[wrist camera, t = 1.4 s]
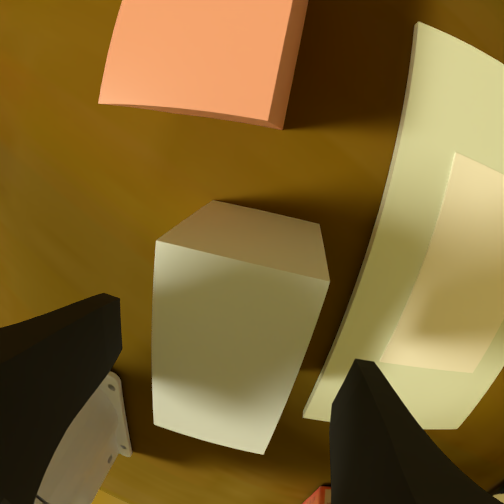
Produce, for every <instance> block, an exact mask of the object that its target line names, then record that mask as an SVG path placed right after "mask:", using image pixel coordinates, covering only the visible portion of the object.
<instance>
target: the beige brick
mask: <svg viewBox="0 0 504 504" xmlns="http://www.w3.org/2000/svg"><path fill="white" fill-rule="evenodd" d="M329 284H330V278H329V272H328V266H327V261H326V255H325V250H324V244H323V239H322V234H321V229H320V224H318V223H314V222H309V221H305V220H301V219H297V218H293V217H288V216H284V215H280V214H275V213H271V212H266V211H262V210H257V209H253V208H248V207H244V206H239V205H234V204H230V203H225V202H220V201H216V200H212V201H211V202H209V203H208V204H206V205H205V206H204V207H202V208H201V209H199V210H198V211H196V212H195V213H193V214H192V215H191V216H189V217H188V218H186V219H185V220H184V221H182V222H181V223H179V224H178V225H177V226H175V227H174V228H172V229H171V230H170V231H168V232H167V233H165V234H164V235H163V236H161V237H160V238H159V239H157V240H156V250H155V264H154V282H153V306H152V395H153V418H154V425H157V426H160V427H163V428H166V429H168V430H171V431H174V432H177V433H181V434H184V435H187V436H190V437H194V438H197V439H200V440H204V441H207V442H211V443H215V444H218V445H222V446H226V447H230V448H235V449H239V450H243V451H248V452H252V453H257V454H262V455H264V452H265V450H266V448H267V446H268V444H269V441H270V439H271V437H272V435H273V432H274V430H275V428H276V425H277V423H278V421H279V418H280V416H281V414H282V411H283V409H284V407H285V404H286V402H287V399H288V397H289V394H290V392H291V389H292V387H293V384H294V382H295V379H296V377H297V374H298V372H299V369H300V366H301V364H302V361H303V359H304V356H305V353H306V351H307V348H308V345H309V342H310V340H311V337H312V334H313V331H314V328H315V326H316V323H317V320H318V317H319V314H320V311H321V308H322V305H323V302H324V299H325V296H326V293H327V290H328V287H329Z"/></svg>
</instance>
